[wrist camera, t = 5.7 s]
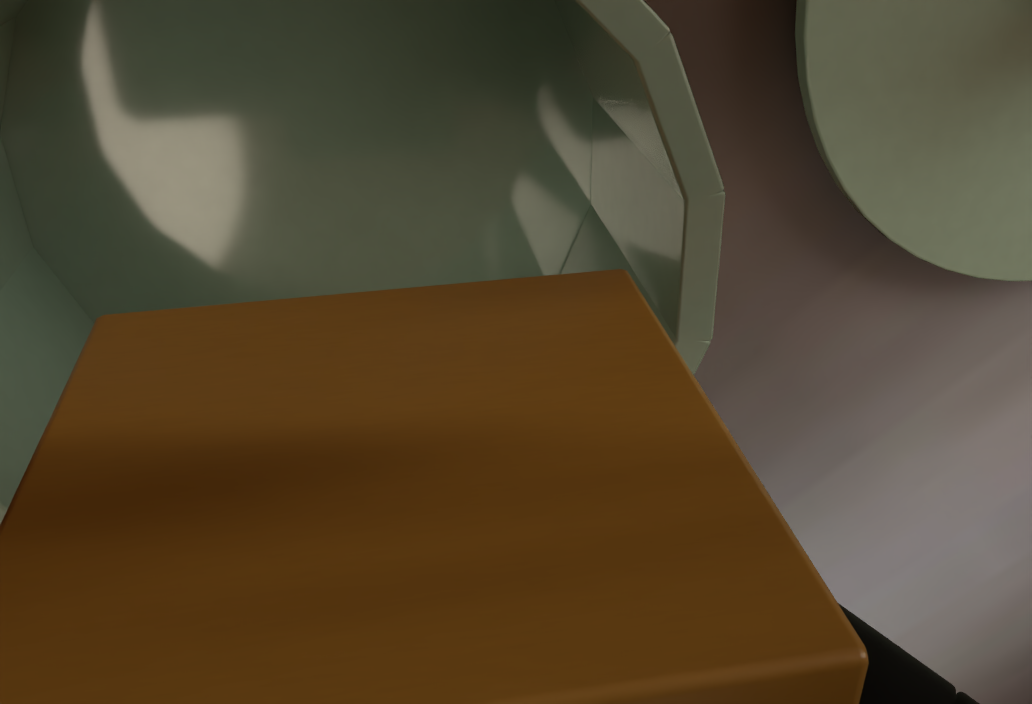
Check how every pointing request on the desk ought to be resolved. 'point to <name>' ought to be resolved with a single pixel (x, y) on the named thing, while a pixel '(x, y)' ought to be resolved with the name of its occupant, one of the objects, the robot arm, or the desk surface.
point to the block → (405, 514)
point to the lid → (927, 123)
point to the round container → (333, 163)
